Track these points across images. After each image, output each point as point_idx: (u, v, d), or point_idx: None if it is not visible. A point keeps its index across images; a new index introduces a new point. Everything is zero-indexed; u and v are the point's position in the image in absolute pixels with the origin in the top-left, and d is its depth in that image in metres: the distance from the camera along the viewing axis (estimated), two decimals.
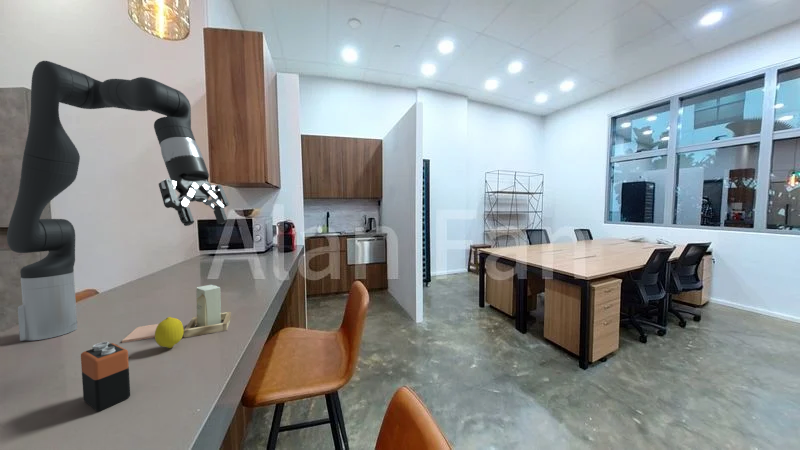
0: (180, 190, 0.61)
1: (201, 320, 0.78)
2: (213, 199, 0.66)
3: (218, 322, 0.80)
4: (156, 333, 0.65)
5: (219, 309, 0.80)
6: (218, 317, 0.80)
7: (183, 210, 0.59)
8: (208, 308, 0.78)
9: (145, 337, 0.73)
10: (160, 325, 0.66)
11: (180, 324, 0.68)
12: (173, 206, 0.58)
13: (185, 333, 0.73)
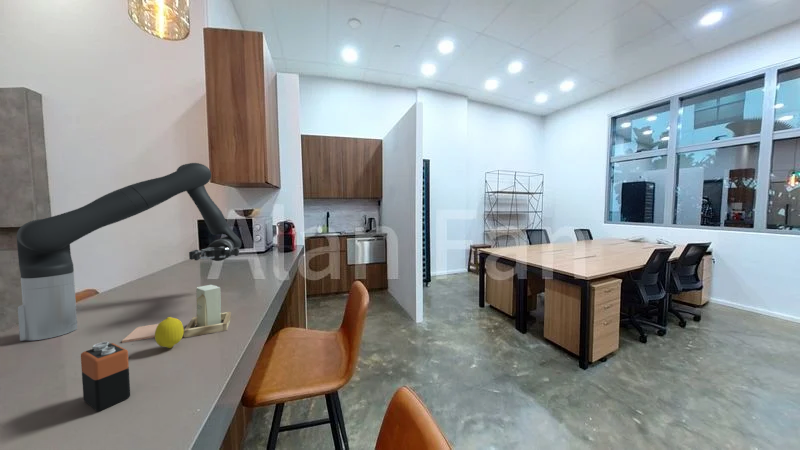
0: None
1: (201, 321, 0.78)
2: (205, 257, 0.93)
3: (218, 322, 0.80)
4: (156, 333, 0.65)
5: (219, 309, 0.80)
6: (218, 317, 0.80)
7: (230, 255, 0.94)
8: (208, 308, 0.78)
9: (145, 337, 0.73)
10: (160, 325, 0.66)
11: (180, 324, 0.68)
12: (235, 252, 0.95)
13: (185, 333, 0.73)
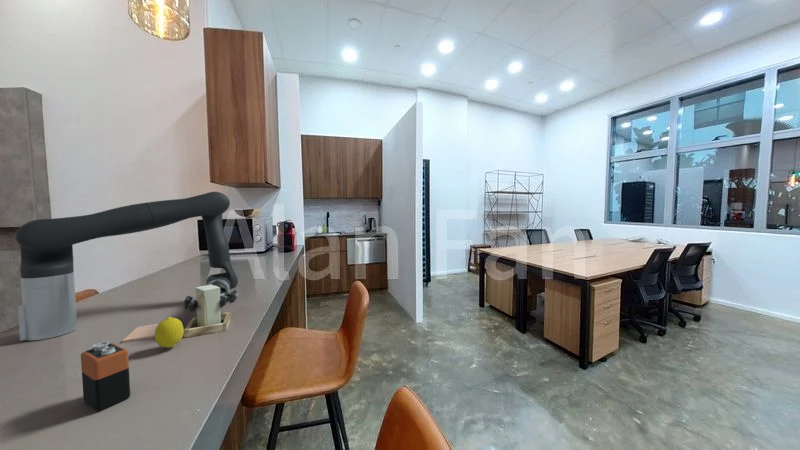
0: None
1: (201, 320, 0.78)
2: None
3: (218, 322, 0.80)
4: (156, 333, 0.65)
5: (219, 309, 0.80)
6: (218, 317, 0.80)
7: None
8: (208, 308, 0.78)
9: (145, 337, 0.73)
10: (160, 325, 0.66)
11: (180, 324, 0.68)
12: (230, 299, 0.84)
13: (185, 333, 0.73)
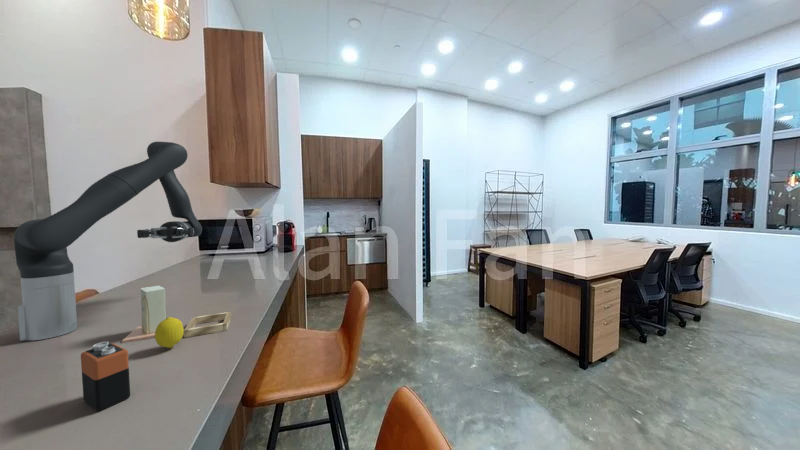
0: None
1: (144, 323, 0.75)
2: (155, 236, 0.90)
3: None
4: (156, 333, 0.65)
5: (163, 311, 0.77)
6: (162, 319, 0.77)
7: (183, 234, 0.91)
8: (151, 310, 0.75)
9: (145, 337, 0.73)
10: (160, 325, 0.66)
11: (180, 324, 0.68)
12: (188, 232, 0.92)
13: (185, 333, 0.73)
